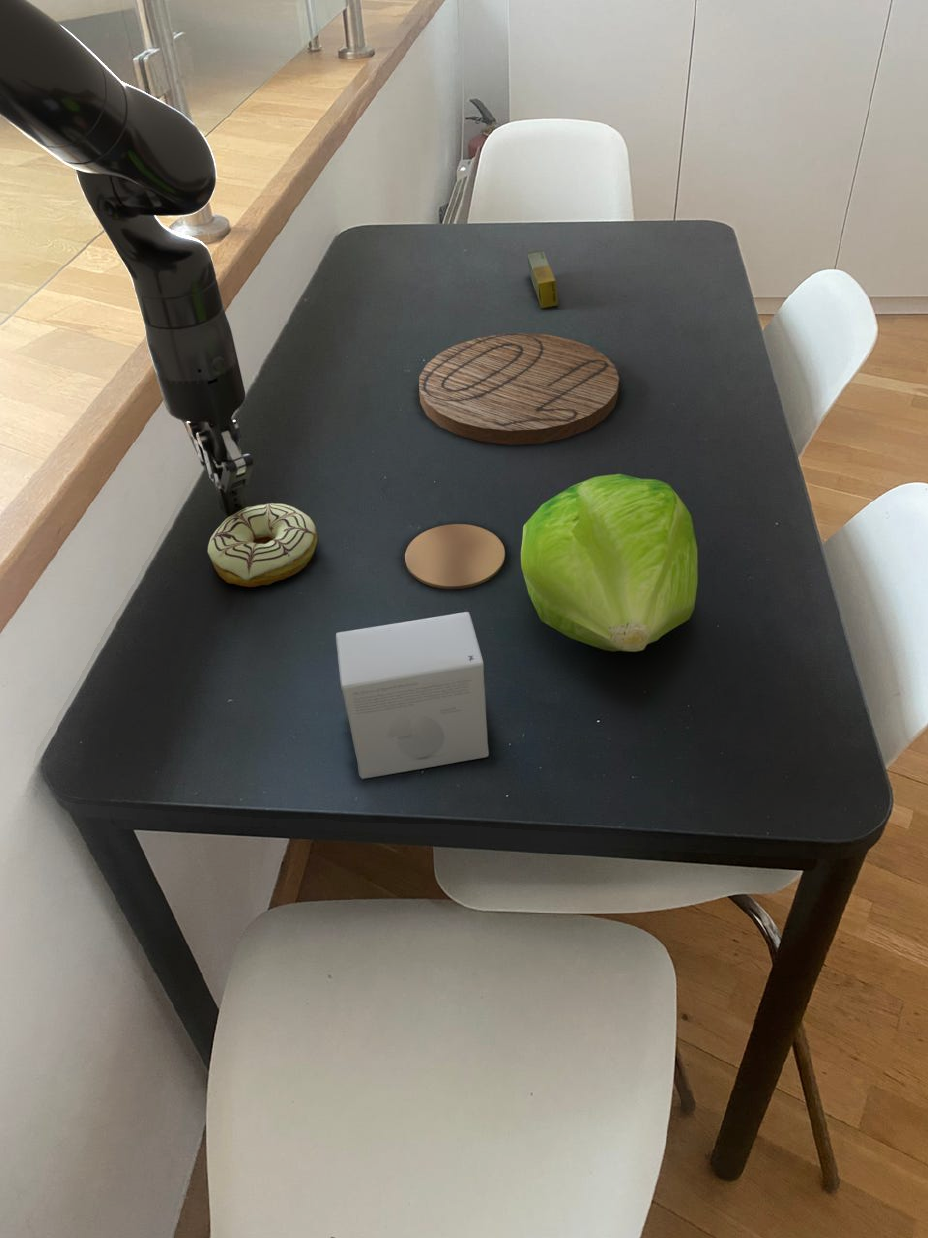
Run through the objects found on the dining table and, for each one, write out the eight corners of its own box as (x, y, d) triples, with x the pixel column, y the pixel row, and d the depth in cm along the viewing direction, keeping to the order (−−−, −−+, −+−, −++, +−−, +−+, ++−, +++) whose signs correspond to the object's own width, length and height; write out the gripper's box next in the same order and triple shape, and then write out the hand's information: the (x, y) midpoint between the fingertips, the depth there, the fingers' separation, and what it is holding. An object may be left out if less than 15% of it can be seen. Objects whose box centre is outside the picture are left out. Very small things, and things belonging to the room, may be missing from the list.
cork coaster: (424, 600, 88) (424, 597, 87) (392, 541, 94) (392, 538, 94) (520, 573, 90) (520, 569, 90) (482, 517, 97) (482, 514, 97)
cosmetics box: (474, 699, 78) (469, 607, 71) (489, 758, 73) (486, 665, 66) (351, 720, 77) (334, 628, 70) (359, 781, 72) (341, 689, 65)
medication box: (528, 278, 142) (526, 252, 140) (546, 274, 142) (544, 248, 140) (540, 309, 133) (538, 281, 131) (558, 305, 133) (556, 278, 131)
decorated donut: (193, 560, 94) (184, 531, 91) (279, 514, 99) (272, 485, 96) (251, 607, 88) (243, 577, 85) (339, 555, 93) (334, 525, 90)
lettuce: (551, 720, 76) (508, 584, 69) (545, 591, 93) (510, 471, 86) (731, 685, 73) (706, 540, 66) (692, 559, 90) (668, 431, 83)
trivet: (653, 375, 118) (655, 362, 116) (549, 467, 103) (549, 452, 102) (493, 330, 129) (493, 318, 128) (379, 407, 115) (377, 394, 113)
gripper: (131, 343, 87) (177, 494, 99) (183, 400, 79) (226, 556, 91) (205, 321, 90) (241, 470, 102) (262, 373, 82) (294, 528, 94)
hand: (234, 510), depth 96 cm, fingers closed
